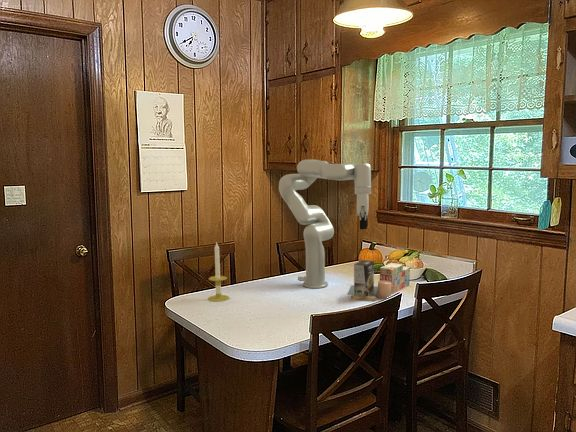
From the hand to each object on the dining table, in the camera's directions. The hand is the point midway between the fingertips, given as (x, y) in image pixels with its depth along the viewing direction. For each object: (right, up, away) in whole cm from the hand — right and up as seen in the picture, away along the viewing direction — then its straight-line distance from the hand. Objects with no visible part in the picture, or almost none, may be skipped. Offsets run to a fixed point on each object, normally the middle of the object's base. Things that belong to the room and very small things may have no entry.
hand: (363, 227), depth 222 cm
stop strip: (-1, -33, -4) cm, 33 cm away
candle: (-67, -33, +3) cm, 75 cm away
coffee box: (0, -32, +2) cm, 32 cm away
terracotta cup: (+9, -32, 0) cm, 33 cm away
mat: (+3, -31, +11) cm, 33 cm away
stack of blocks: (+17, -30, +13) cm, 37 cm away
